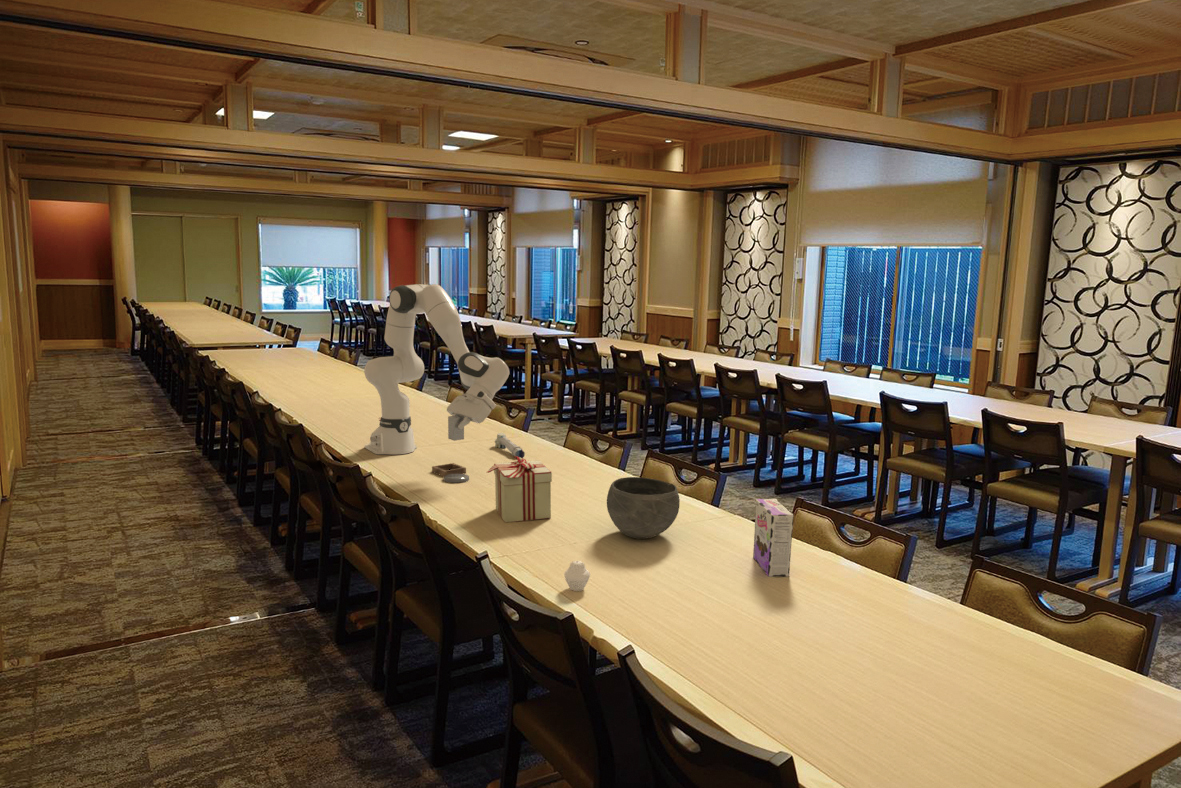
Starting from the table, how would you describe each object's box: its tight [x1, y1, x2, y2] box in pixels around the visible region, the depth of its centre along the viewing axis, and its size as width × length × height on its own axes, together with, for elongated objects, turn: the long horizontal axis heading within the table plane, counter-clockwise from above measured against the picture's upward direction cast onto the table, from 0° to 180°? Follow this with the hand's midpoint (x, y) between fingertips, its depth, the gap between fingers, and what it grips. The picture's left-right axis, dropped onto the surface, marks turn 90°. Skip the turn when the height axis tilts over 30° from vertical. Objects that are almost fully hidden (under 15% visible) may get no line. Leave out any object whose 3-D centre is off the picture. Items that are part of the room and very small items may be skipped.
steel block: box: [447, 415, 465, 442], centre depth 283 cm, size 4×4×8 cm
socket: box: [431, 462, 467, 477], centre depth 295 cm, size 9×9×2 cm
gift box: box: [486, 456, 553, 523], centre depth 246 cm, size 17×18×17 cm
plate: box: [443, 473, 470, 484], centre depth 286 cm, size 9×9×1 cm
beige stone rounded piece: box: [564, 560, 591, 592], centre depth 191 cm, size 6×6×7 cm
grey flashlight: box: [494, 432, 526, 459], centre depth 330 cm, size 5×7×25 cm
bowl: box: [606, 476, 680, 540], centre depth 229 cm, size 21×21×15 cm
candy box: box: [752, 498, 794, 578], centre depth 207 cm, size 14×6×16 cm, turn 5°
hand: (454, 427), depth 282 cm, fingers closed on steel block, 4 cm apart
